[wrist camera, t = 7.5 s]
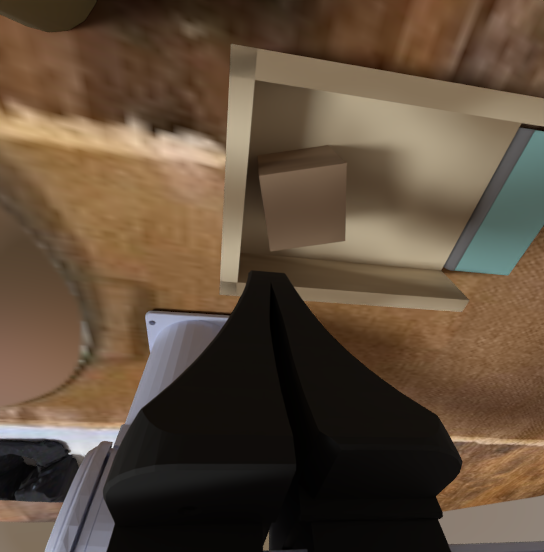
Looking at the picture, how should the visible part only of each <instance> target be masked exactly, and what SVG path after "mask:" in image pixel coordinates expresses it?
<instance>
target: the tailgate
mask: <svg viewBox="0 0 544 552" xmlns="http://www.w3.org/2000/svg"><path fill="white" fill-rule="evenodd" d="M543 225H544V131H539V130H533V129H526V128H520V127H519V129H518V131H517V132H516V134H515V136H514V138H513V140H512V142H511V143H510V145H509V147H508V149H507V151H506V153H505V154H504V156H503V158H502V160H501V162H500V164H499V165H498V167H497V169H496V171H495V173H494V175H493V176H492V178H491V180H490V182H489V184H488V186H487V187H486V189H485V191H484V193H483V195H482V197H481V198H480V200H479V202H478V204H477V206H476V208H475V209H474V211H473V213H472V215H471V217H470V219H469V220H468V222H467V224H466V226H465V228H464V230H463V231H462V233H461V235H460V237H459V239H458V241H457V242H456V244H455V246H454V248H453V250H452V251H451V253H450V255H449V257H448V259H447V261H446V262H445V264H444V268H446V269H448V270H451V271H454V270H455V271H465V272H477V273H488V274H499V275H509V274H510V272H511V271H512V269H513V268H514V267H515V265H516V264H517V262H518V261H519V259H520V258H521V257H522V255H523V254H524V252H525V251H526V250H527V248H528V247H529V245H530V244H531V242H532V241H533V240H534V238H535V237H536V235H537V234H538V233H539V231H540V230H541V228H542V227H543Z"/></svg>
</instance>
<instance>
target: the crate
mask: <svg viewBox="0 0 544 552" xmlns="http://www.w3.org/2000/svg"><path fill="white" fill-rule="evenodd" d="M521 123H525V124H532V125H538V126H544V98H538V97H532V96H527V95H521V94H515V93H510V92H504V91H498V90H492V89H487V88H481V87H475V86H469V85H464V84H458V83H452V82H446V81H441V80H435V79H429V78H424V77H418V76H412V75H406V74H401V73H395V72H389V71H383V70H378V69H372V68H366V67H361V66H355V65H349V64H343V63H338V62H332V61H326V60H320V59H315V58H309V57H303V56H297V55H292V54H286V53H280V52H275V51H269V50H263V49H257V48H252V47H246V46H240V45H234V44H231V56H230V78H229V100H228V121H227V143H226V165H225V187H224V208H223V230H222V252H221V274H220V295H232V296H241V295H242V293H243V290H244V288H245V285H246V283H247V279H248V273H249V272H250V271H251V270H254V271H266V272H279V273H285V274H286V275H287V277H288V278H289V280H290V282H291V283H292V285H293V286H294V288H295V289H296V291H297V292H298V294H299V295H300V297H301V298H302V300H303V301H316V302H330V303H344V304H358V305H372V306H386V307H400V308H414V309H428V310H442V311H456V312H462V311H463V309H464V308H465V306H466V305H467V303H468V302H469V299H468V298H467V297H466V296H465V295H464V294H463V293H462V292H461V291H460V290H459V289H458V288H457V287H456V286H455V285H454V284H453V282H452V281H451V280H450V279H449V278H448V277H447V276H446V275H445V274H444V273H443V272H442V271H441V270H442V268H443V266H444V264H445V262H446V261H447V259H448V257H449V255H450V253H451V251H452V250H453V248H454V246H455V244H456V242H457V241H458V239H459V237H460V235H461V233H462V231H463V230H464V228H465V226H466V224H467V222H468V220H469V219H470V217H471V215H472V213H473V211H474V209H475V208H476V206H477V204H478V202H479V200H480V198H481V197H482V195H483V193H484V191H485V189H486V187H487V186H488V184H489V182H490V180H491V178H492V176H493V175H494V173H495V171H496V169H497V167H498V165H499V164H500V162H501V160H502V158H503V156H504V154H505V153H506V151H507V149H508V147H509V145H510V143H511V142H512V140H513V138H514V136H515V134H516V132H517V131H518V129H519V127H520V125H521ZM325 145H328V146H330V147H331V148H332V149H333V150H334V151H335V152H336V153H337V154H338V155H339V156H340V157H341V158H342V159H343V160H344V161H345V162H346V163H347V174H346V232H345V241H343V242H335V243H328V244H321V245H314V246H306V247H299V248H292V249H285V250H278V251H270V246H269V240H268V233H267V226H266V220H265V213H264V206H263V200H262V193H261V186H260V180H259V169H258V155H264V154H270V153H277V152H284V151H291V150H298V149H304V148H311V147H318V146H325Z"/></svg>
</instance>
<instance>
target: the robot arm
mask: <svg viewBox="0 0 544 552" xmlns="http://www.w3.org/2000/svg"><path fill="white" fill-rule="evenodd" d="M145 318H146V325H147V333H148V340H149V347H150V356H149V359H148V361H147V364H146V367H145V370H144V372H143V375H142V378H141V381H140V383H139V386H138V389H137V392H136V395H135V397H134V400H133V403H132V406H131V408H130V411H129V414H128V417H127V419H126V422H125V424H123V425H121V428H120V431H119V433H118V436H117V439H116V442H115V444H114V447H113V448H111V447H112V443H113V442H108V441H102V442H101V443H100V444H99V445H98V446H97V447H95V448H94V449H92V450H90V451H89V452H88V453H87V454H86V456H85V458H84V459H83V461H82V463H81V465H80V467H79V469H78V471H77V473H76V475H75V478H74V480H73V482H72V484H71V486H70V489H69V491H68V493H67V496H66V498H65V500H64V503H63V505H62V507H61V510H60V512H59V515H58V517H57V520H56V522H55V525H54V527H53V530H52V533H51V536H50V538H49V541H48V543H47V546H46V549H45V552H544V541H536V542H506V543H480V544H479V543H476V544H448V543H447V540H446V538H445V536H444V533H443V531H442V528H441V526H440V523H439V521H438V519H440V518H442V517H443V515H442V510H441V508H440V505H439V503H438V501H437V498H436V496H437V495H438V494H439V493H440V492H441V491H442V490H443V489H444V488H445V487H446V486H448V485H449V484H450V483H451V482H452V481H453V480H454V479H455V478H456V476H457V475H458V474H459V473H460V470H461V466H462V460H461V457H460V455H459V453H458V451H457V449H456V447H455V446H454V444H453V442H452V440H451V438H450V436H449V434H448V432H447V431H446V429H445V427H444V426H443V424H442V422H441V421H440V419H439V417H438V416H437V415H436V414H434V413H432V412H431V411H429V410H428V409H426V408H424V407H423V406H421V405H420V404H418V403H417V402H415V401H413V400H412V399H410V398H409V397H407V396H405V395H404V394H402V393H401V392H399V391H398V390H397V389H395V388H394V387H392V386H391V385H390V384H388V383H387V382H385V381H384V380H383V379H381V378H380V377H379V376H377V375H376V374H375V373H373V372H372V371H371V370H369V369H368V368H367V367H366V366H365V365H363V364H362V363H361V362H360V361H359V360H357V359H356V358H355V357H354V356H353V355H352V354H350V353H349V352H348V351H347V350H346V349H345V348H344V347H343V346H342V345H341V344H340V343H339V342H338V341H337V340H336V339H335V338H334V337H333V336H332V335H331V334H330V333H329V332H328V331H327V330H326V329H325V328H324V327H323V325H322V324H321V323H320V322H319V321H318V319H317V318H316V317H315V316H314V314H313V313H312V312H311V311H310V309H309V308H308V306H307V305H306V304H305V302H304V301H303V300H302V298H301V297H300V295H299V294H298V292H297V291H296V289H295V288H294V286H293V285H292V283H291V282H290V280H289V278H288V277H287V275H286V274H285V273H279V272H266V271H254V270H251V271H250V272H249V273H248V279H247V283H246V285H245V288H244V290H243V293H242V295H241V297H240V299H239V301H238V303H237V305H236V307H235V308H234V310H233V312H232V313H231V315H230V316H229V315H213V314H197V313H181V312H165V311H149V312H147V314H146V317H145ZM151 320H152V321H155V322H152V321H151ZM268 532H269V551H263V545H264V542H265V540H266V537H267V534H268Z"/></svg>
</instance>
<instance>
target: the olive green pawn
mask: <svg viewBox="0 0 544 552" xmlns="http://www.w3.org/2000/svg"><path fill="white" fill-rule="evenodd" d="M96 1H97V0H0V15H3V16H5V17H7V18H9V19H12V20H14V21H16V22H18V23H21V24H23V25H25V26H28V27H31V28H35V29H39V30H42V31H46V32H57V31H68V30H70V29H72V28H73V27H75V26H77V25H78V24H80V23H82V22H83V21H85V19H86V18H87V16H88V15H89V13H90V12H91V10H92V9H93V7H94V5H95V4H96Z"/></svg>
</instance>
